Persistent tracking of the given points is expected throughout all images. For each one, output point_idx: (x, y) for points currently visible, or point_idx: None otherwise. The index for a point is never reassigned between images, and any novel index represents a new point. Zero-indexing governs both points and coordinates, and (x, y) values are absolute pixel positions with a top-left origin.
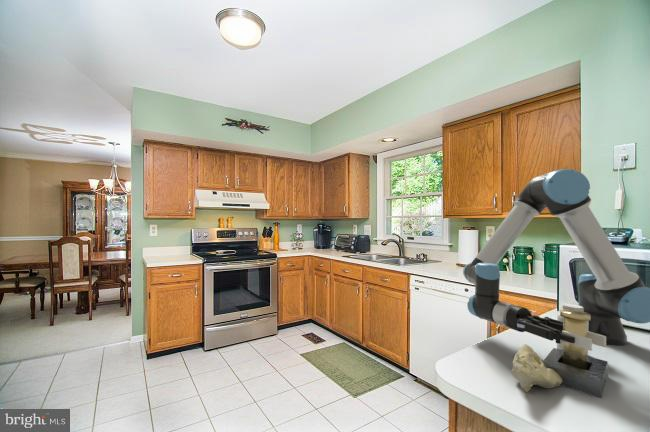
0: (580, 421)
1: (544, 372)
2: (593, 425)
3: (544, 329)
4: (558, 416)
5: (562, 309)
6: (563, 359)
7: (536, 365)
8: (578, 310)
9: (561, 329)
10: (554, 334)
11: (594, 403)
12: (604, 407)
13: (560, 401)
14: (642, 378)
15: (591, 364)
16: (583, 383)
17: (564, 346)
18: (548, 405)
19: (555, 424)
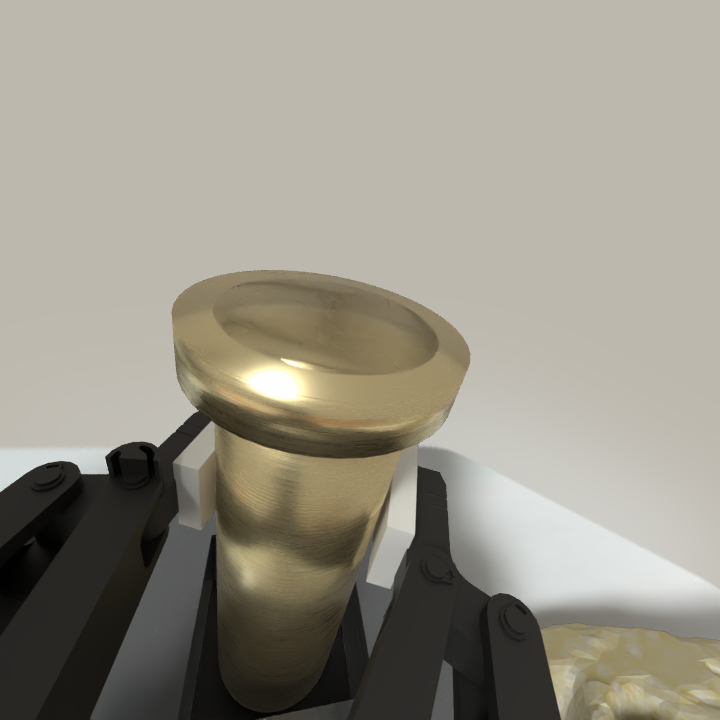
0: (587, 533)
1: (635, 653)
2: (565, 510)
3: (557, 713)
4: (641, 580)
5: (275, 384)
6: (316, 663)
7: (712, 677)
8: None
9: (96, 658)
10: (482, 601)
11: (452, 528)
12: (447, 506)
13: (564, 607)
14: (69, 452)
15: (212, 543)
16: None
17: (343, 604)
18: (636, 627)
19: (678, 572)
